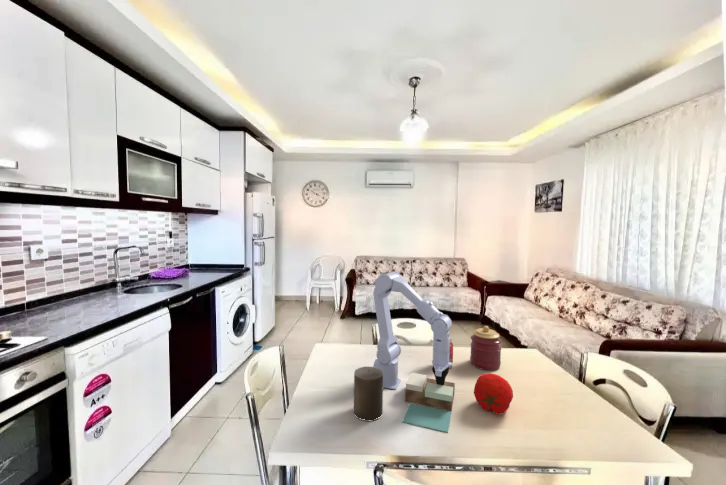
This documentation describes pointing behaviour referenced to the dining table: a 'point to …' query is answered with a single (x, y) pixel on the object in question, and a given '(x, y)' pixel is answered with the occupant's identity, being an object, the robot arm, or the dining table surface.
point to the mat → (428, 417)
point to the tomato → (493, 393)
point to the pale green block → (439, 392)
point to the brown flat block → (427, 401)
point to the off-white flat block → (416, 382)
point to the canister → (485, 349)
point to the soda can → (451, 352)
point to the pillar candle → (368, 393)
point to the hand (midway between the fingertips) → (440, 387)
